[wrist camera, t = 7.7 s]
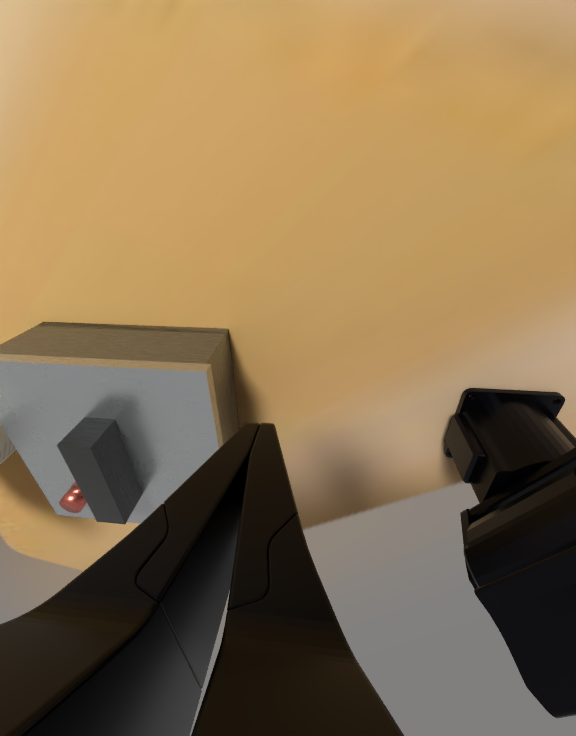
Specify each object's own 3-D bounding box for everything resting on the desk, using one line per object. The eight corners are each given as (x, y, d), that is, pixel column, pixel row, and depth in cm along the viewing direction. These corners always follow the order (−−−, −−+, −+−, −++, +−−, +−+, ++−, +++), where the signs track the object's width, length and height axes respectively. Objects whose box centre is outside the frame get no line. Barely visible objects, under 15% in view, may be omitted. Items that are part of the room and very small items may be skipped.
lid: (210, 364, 18) (189, 398, 15) (235, 522, 25) (224, 564, 23) (-28, 352, 19) (-86, 382, 16) (64, 506, 27) (34, 544, 24)
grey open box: (228, 328, 22) (204, 365, 18) (244, 467, 30) (230, 516, 25) (43, 321, 24) (-19, 354, 20) (102, 456, 31) (66, 501, 27)
